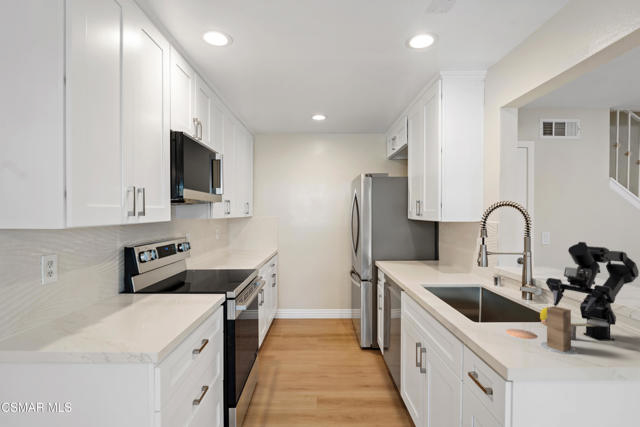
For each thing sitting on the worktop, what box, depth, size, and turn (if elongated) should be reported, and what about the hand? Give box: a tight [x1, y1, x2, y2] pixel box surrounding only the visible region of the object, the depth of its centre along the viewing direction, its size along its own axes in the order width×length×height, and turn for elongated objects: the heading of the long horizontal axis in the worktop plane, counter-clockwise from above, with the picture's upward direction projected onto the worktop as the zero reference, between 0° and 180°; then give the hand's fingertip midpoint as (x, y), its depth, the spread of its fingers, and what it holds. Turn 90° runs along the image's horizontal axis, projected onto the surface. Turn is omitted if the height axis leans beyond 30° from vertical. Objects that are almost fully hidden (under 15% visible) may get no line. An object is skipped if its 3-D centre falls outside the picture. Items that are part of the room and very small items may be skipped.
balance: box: [540, 319, 609, 341], centre depth 113 cm, size 19×6×9 cm, turn 53°
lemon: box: [539, 306, 550, 320], centre depth 130 cm, size 6×6×8 cm
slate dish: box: [540, 341, 579, 355], centre depth 105 cm, size 10×10×1 cm
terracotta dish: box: [505, 328, 538, 340], centre depth 118 cm, size 10×10×1 cm
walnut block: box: [546, 305, 572, 352], centre depth 105 cm, size 5×5×13 cm
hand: (569, 308), depth 109 cm, fingers open, 9 cm apart
